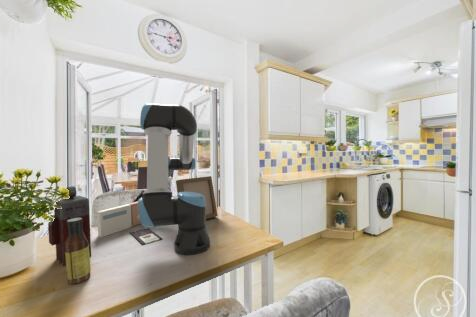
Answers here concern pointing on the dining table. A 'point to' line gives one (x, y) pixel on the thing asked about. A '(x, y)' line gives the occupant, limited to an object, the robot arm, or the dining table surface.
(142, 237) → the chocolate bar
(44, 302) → the dining table surface
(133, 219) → the stub
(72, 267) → the sauce bottle
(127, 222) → the white slotted box
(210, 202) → the photo frame
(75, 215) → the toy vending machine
